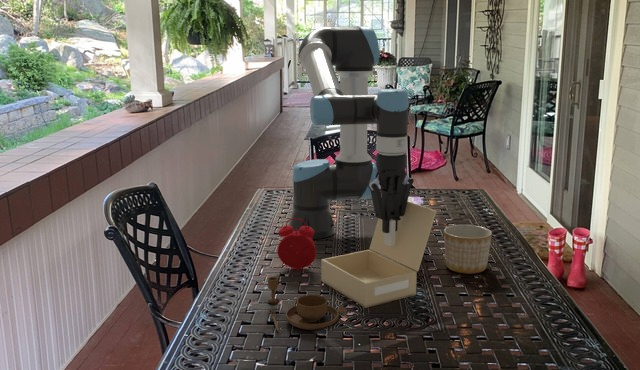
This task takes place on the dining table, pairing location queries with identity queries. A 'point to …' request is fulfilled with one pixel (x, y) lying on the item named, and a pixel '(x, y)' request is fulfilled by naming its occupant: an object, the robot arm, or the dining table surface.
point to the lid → (406, 236)
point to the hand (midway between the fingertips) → (389, 244)
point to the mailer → (368, 278)
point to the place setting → (305, 309)
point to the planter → (467, 248)
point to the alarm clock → (296, 246)
